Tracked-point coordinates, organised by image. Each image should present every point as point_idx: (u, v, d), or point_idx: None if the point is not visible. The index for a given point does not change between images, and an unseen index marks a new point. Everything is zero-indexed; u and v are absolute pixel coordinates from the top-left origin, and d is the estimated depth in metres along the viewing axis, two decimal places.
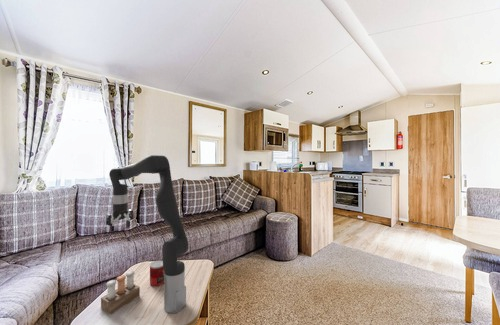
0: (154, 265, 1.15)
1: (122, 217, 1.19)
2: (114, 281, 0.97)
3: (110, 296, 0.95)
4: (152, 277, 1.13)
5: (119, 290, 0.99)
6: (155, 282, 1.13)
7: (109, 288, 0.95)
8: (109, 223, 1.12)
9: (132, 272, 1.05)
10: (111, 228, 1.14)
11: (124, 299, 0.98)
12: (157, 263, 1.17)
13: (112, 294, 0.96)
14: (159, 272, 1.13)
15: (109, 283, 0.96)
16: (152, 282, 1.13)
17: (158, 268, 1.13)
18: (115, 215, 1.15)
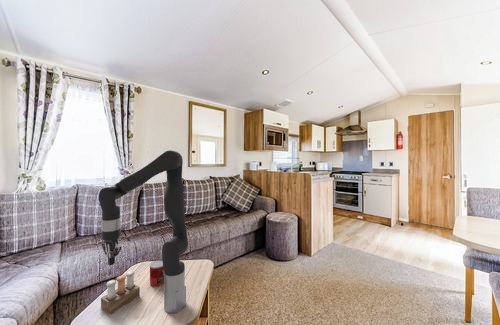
0: (154, 265, 1.15)
1: None
2: (114, 281, 0.97)
3: (110, 296, 0.95)
4: (152, 277, 1.13)
5: (119, 290, 0.99)
6: (155, 282, 1.13)
7: (109, 288, 0.95)
8: None
9: (132, 272, 1.05)
10: (114, 259, 0.96)
11: (124, 299, 0.98)
12: (157, 263, 1.17)
13: (112, 294, 0.96)
14: (159, 272, 1.13)
15: (109, 283, 0.96)
16: (152, 282, 1.13)
17: (158, 268, 1.13)
18: None
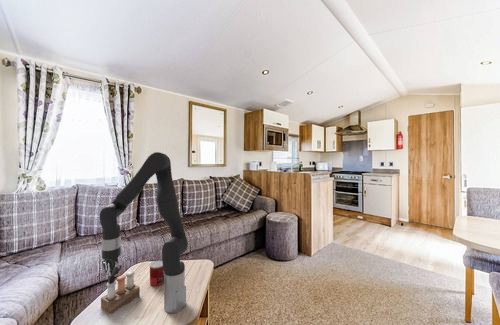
0: (154, 265, 1.15)
1: None
2: None
3: (110, 296, 0.95)
4: (152, 277, 1.13)
5: (119, 290, 0.99)
6: (155, 282, 1.13)
7: (109, 288, 0.95)
8: None
9: (132, 272, 1.05)
10: (114, 277, 0.96)
11: (124, 299, 0.98)
12: (157, 263, 1.17)
13: (112, 294, 0.96)
14: (159, 272, 1.13)
15: None
16: (152, 282, 1.13)
17: (158, 268, 1.13)
18: None
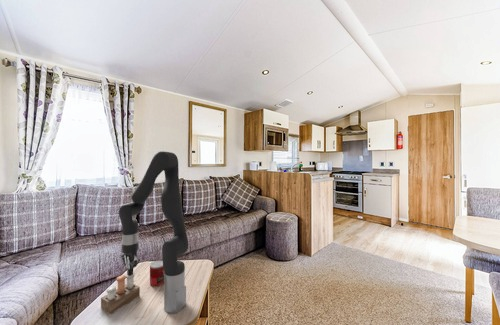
0: (154, 265, 1.15)
1: None
2: (114, 287, 0.97)
3: None
4: (152, 277, 1.13)
5: (119, 290, 0.99)
6: (155, 282, 1.13)
7: (109, 294, 0.95)
8: None
9: (132, 274, 1.05)
10: None
11: (124, 299, 0.98)
12: (157, 263, 1.17)
13: None
14: (159, 272, 1.13)
15: (109, 289, 0.96)
16: (152, 282, 1.13)
17: (158, 268, 1.13)
18: None
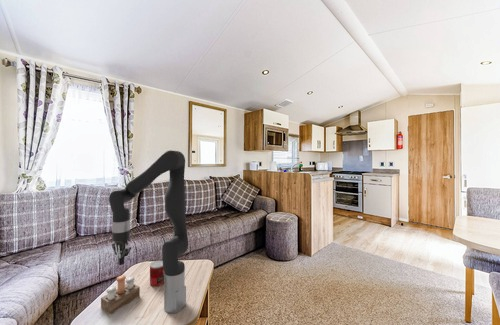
0: (154, 265, 1.15)
1: None
2: (114, 287, 0.97)
3: None
4: (152, 277, 1.13)
5: (119, 290, 0.99)
6: (155, 282, 1.13)
7: (109, 294, 0.95)
8: None
9: (132, 278, 1.05)
10: None
11: (124, 299, 0.98)
12: (157, 263, 1.17)
13: None
14: (159, 272, 1.13)
15: (109, 289, 0.96)
16: (152, 282, 1.13)
17: (158, 268, 1.13)
18: None
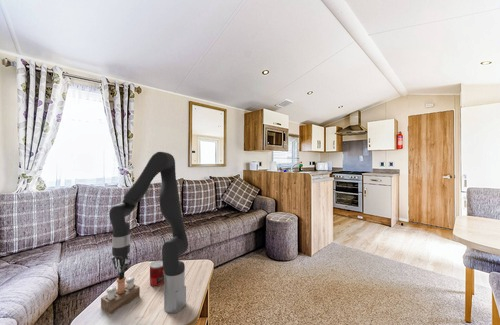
0: (154, 265, 1.15)
1: None
2: (114, 287, 0.97)
3: None
4: (152, 277, 1.13)
5: (119, 291, 0.99)
6: (155, 282, 1.13)
7: (109, 294, 0.95)
8: None
9: (132, 278, 1.05)
10: None
11: (124, 299, 0.98)
12: (157, 263, 1.17)
13: None
14: (159, 272, 1.13)
15: (109, 289, 0.96)
16: (152, 282, 1.13)
17: (158, 268, 1.13)
18: None
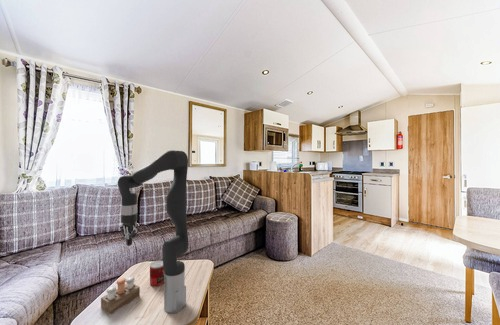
0: (154, 265, 1.15)
1: None
2: (114, 287, 0.97)
3: None
4: (152, 277, 1.13)
5: (119, 293, 0.99)
6: (155, 282, 1.13)
7: (109, 294, 0.95)
8: None
9: (132, 278, 1.05)
10: (131, 240, 1.08)
11: (124, 299, 0.98)
12: (157, 263, 1.17)
13: None
14: (159, 272, 1.13)
15: (109, 289, 0.96)
16: (152, 282, 1.13)
17: (158, 268, 1.13)
18: None
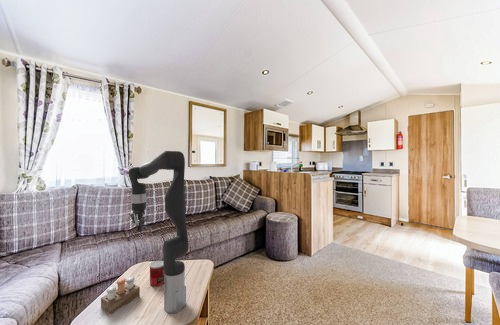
0: (154, 265, 1.15)
1: None
2: (114, 287, 0.97)
3: None
4: (152, 277, 1.13)
5: (119, 293, 0.99)
6: (155, 282, 1.13)
7: (109, 294, 0.95)
8: None
9: (132, 278, 1.05)
10: (141, 227, 1.17)
11: (124, 299, 0.98)
12: (157, 263, 1.17)
13: None
14: (159, 272, 1.13)
15: (109, 289, 0.96)
16: (152, 282, 1.13)
17: (158, 268, 1.13)
18: None
